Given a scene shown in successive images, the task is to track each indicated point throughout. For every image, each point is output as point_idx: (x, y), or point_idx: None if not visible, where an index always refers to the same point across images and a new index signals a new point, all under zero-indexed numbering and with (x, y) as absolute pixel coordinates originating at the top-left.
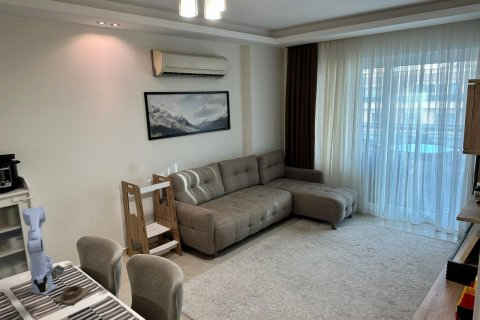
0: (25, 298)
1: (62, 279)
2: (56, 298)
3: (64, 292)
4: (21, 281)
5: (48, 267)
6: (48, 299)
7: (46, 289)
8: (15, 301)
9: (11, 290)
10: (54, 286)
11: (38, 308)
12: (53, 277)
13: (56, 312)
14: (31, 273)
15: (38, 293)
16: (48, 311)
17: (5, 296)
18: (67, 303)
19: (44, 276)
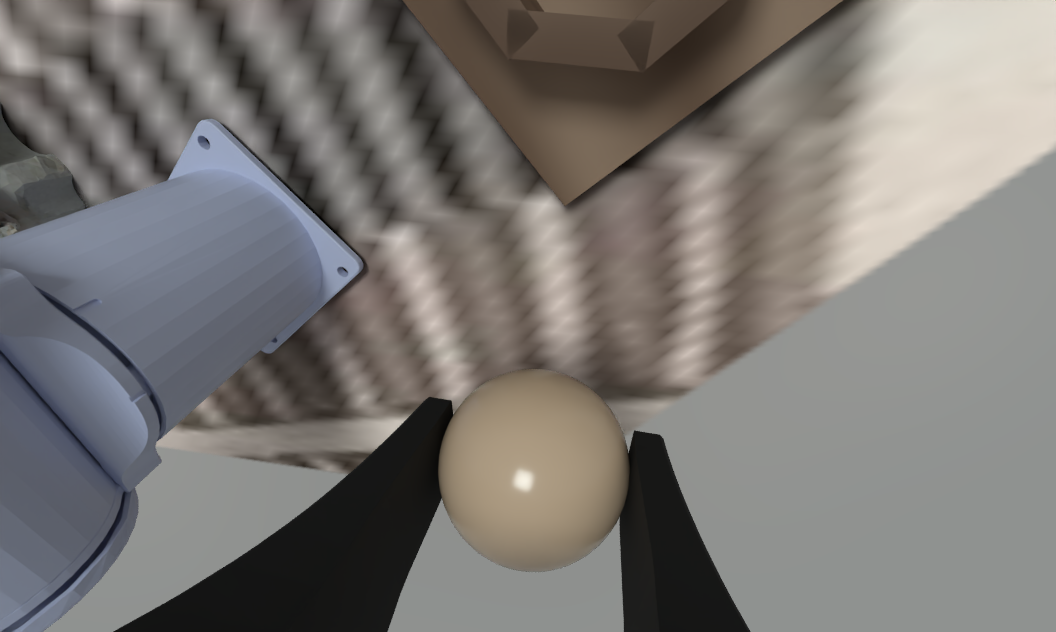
0: (359, 388)
1: (48, 30)
2: (555, 168)
3: (594, 37)
4: None
5: None
6: (478, 242)
7: (612, 421)
8: (374, 437)
9: (215, 430)
10: (224, 154)
11: (599, 340)
12: (13, 139)
13: (881, 198)
14: (96, 579)
15: (319, 308)
16: (752, 274)
17: (283, 461)
18: (820, 11)
19: (325, 625)
